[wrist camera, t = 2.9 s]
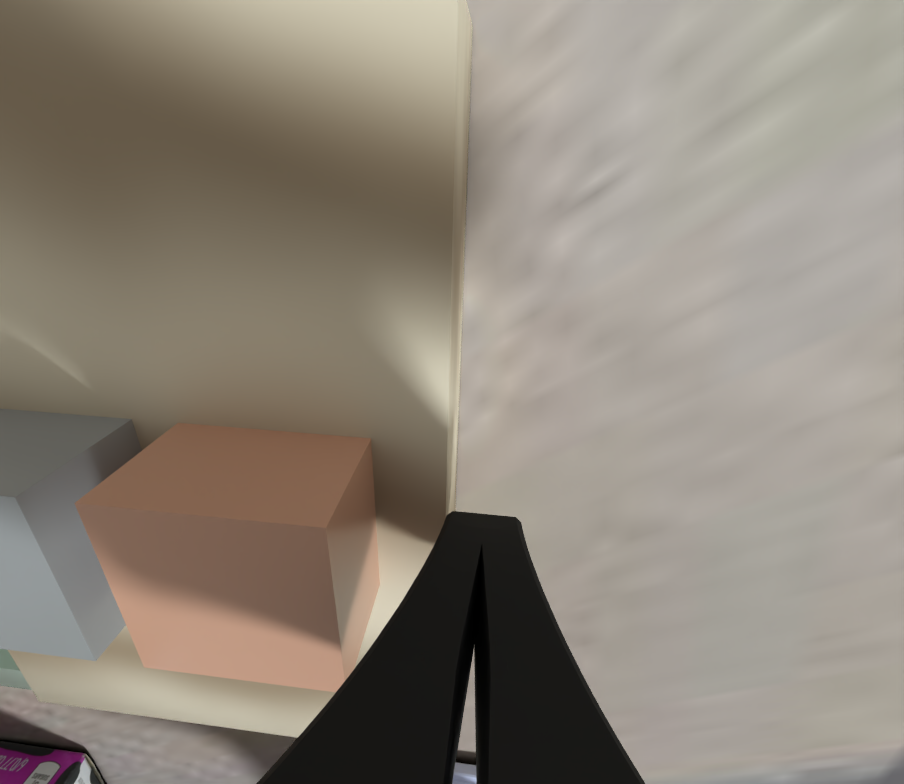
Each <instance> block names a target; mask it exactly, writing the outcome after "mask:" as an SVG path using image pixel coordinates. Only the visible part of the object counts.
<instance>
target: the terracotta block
mask: <svg viewBox="0 0 904 784" xmlns="http://www.w3.org/2000/svg"><path fill="white" fill-rule="evenodd" d="M74 504H75V506H76V508H77V511H78V513H79V515H80V518H81V520H82V522H83V525H84V527H85V529H86V532H87V534H88V537H89V539H90V541H91V544H92V546H93V548H94V551H95V553H96V555H97V558H98V560H99V562H100V565H101V567H102V569H103V572H104V574H105V577H106V579H107V581H108V584H109V586H110V588H111V591H112V593H113V595H114V598H115V600H116V602H117V605H118V607H119V609H120V612H121V614H122V617H123V619H124V621H125V624H126V626H127V628H128V631H129V633H130V635H131V638H132V640H133V642H134V645H135V647H136V649H137V652H138V654H139V657H140V659H141V661H142V664H143V666H144V668H152V669H160V670H168V671H175V672H183V673H191V674H198V675H206V676H214V677H221V678H229V679H237V680H244V681H252V682H260V683H267V684H275V685H283V686H291V687H298V688H306V689H314V690H321V691H329V692H337V690H338V689H339V688H340V687H341V685H342V684H343V683H344V682H345V680H346V679H347V678H348V677H349V675H350V674H351V673H352V671H353V670H354V668H355V665H356V661H357V658H358V655H359V652H360V648H361V645H362V642H363V638H364V635H365V632H366V629H367V625H368V622H369V619H370V616H371V612H372V609H373V606H374V603H375V599H376V596H377V593H378V589H379V586H380V576H379V560H378V543H377V527H376V511H375V494H374V478H373V462H372V446H371V438H360V437H348V436H335V435H323V434H311V433H298V432H286V431H273V430H261V429H249V428H236V427H224V426H211V425H199V424H187V423H177V424H176V425H174V426H173V427H172V428H170V429H169V430H168V431H167V432H165V433H164V434H163V435H161V436H160V437H159V438H158V439H156V440H155V441H154V442H152V443H151V444H150V445H149V446H147V447H146V448H145V449H143V450H142V451H141V452H140V453H138V454H137V455H136V456H134V457H133V458H132V459H131V460H129V461H128V462H127V463H125V464H124V465H123V466H122V467H120V468H119V469H118V470H116V471H115V472H114V473H113V474H111V475H110V476H109V477H107V478H106V479H105V480H104V481H102V482H101V483H100V484H98V485H97V486H96V487H95V488H93V489H92V490H91V491H89V492H88V493H87V494H86V495H84V496H83V497H82V498H80V499H79V500H78V501H77V502H75V503H74Z"/></svg>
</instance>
